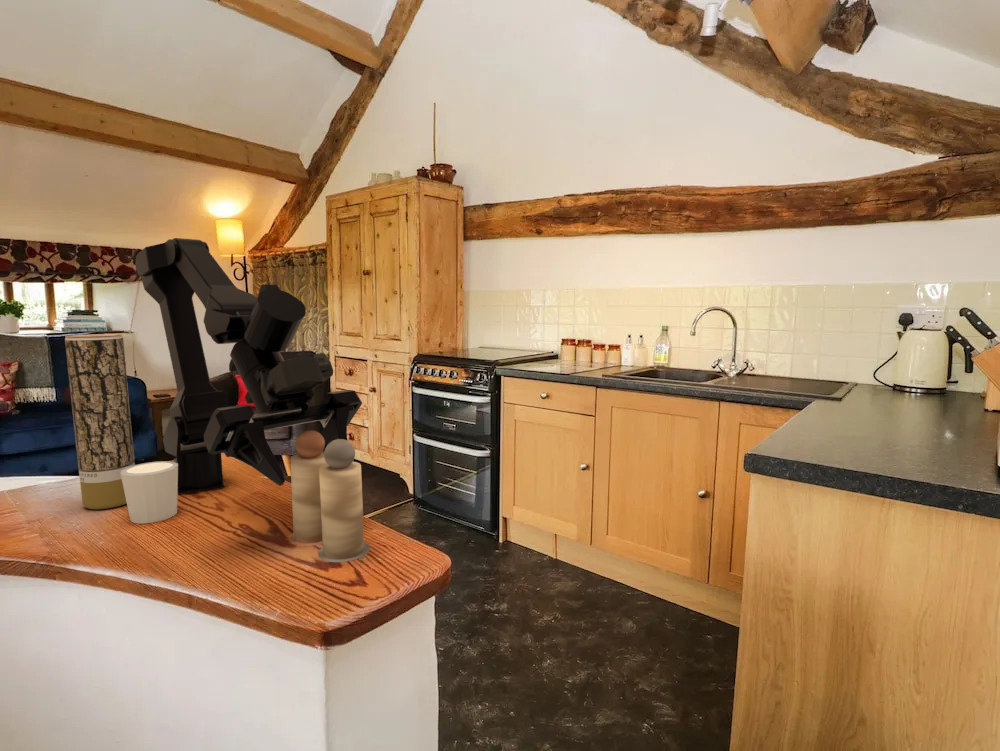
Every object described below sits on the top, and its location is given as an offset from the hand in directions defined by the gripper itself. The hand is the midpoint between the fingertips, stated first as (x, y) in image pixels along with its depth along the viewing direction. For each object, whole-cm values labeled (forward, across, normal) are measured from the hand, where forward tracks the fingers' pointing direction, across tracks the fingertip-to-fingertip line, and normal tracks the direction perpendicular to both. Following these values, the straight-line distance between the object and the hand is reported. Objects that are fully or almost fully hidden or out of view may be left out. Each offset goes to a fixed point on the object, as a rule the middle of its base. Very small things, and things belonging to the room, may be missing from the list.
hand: (316, 474), depth 67 cm
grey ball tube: (+9, 0, +2) cm, 10 cm away
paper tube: (-20, -12, +33) cm, 40 cm away
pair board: (+8, 0, +5) cm, 9 cm away
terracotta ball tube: (+5, 0, +7) cm, 8 cm away
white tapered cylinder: (-12, -10, +26) cm, 30 cm away
